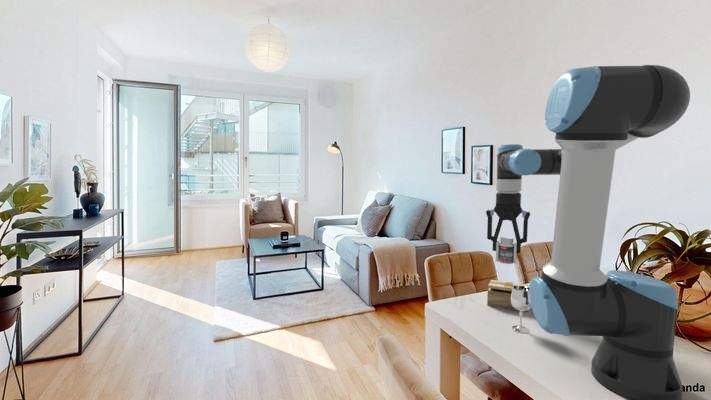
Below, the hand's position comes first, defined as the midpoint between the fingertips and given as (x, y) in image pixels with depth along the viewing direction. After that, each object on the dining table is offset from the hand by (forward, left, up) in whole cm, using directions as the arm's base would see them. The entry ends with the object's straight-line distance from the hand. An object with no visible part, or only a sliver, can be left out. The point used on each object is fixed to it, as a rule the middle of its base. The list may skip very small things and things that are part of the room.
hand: (506, 261), depth 117 cm
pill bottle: (0, 0, -1) cm, 1 cm away
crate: (0, -1, -14) cm, 14 cm away
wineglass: (-19, -6, -15) cm, 25 cm away
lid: (0, -1, -9) cm, 9 cm away
